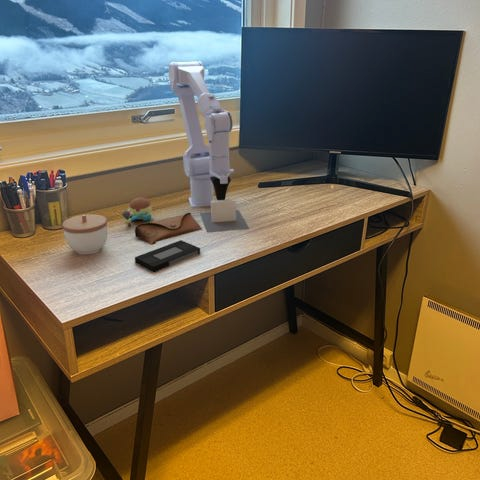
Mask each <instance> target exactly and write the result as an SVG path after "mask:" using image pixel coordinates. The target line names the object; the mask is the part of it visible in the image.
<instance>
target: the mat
mask: <svg viewBox="0 0 480 480" xmlns="http://www.w3.org/2000/svg"><path fill="white" fill-rule="evenodd" d="M199 215H200V216H201V220H202V222H203V225H204V229H205V231H206V233H216V232H227V231H228V232H229V231H239V230H241V231H242V230H250V227H249V226H248V224H247V222H246V220H245V219H244V217H243V215H242V213H241V212H240V210H239V209H236V221H223V222H212V221H211V211H209V212H199Z"/></svg>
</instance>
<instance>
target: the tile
mask: <svg viewBox="0 0 480 480" xmlns="http://www.w3.org/2000/svg"><path fill="white" fill-rule="evenodd" d="M236 206H237V204H236V199H235V198H232V199H225V200H217V199H216V200H214V201H211V206H210V212H211V221H212V222H223V221H236V210H237V209H236V208H237V207H236Z"/></svg>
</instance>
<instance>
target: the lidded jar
mask: <svg viewBox="0 0 480 480" xmlns="http://www.w3.org/2000/svg"><path fill="white" fill-rule="evenodd" d="M107 219H108V218H107V217H105V216H103V215H101V214H91V213H90V214H79V215H76V216H72V217H69V218H68V219H66V220H64V221H62V223H61V225H62V226H61V227H62V229H63V235H64V237H65V240H66V243H67V244H68V247H70V249H72V250H73V251H75V252H76V253H77V254H79V255H85V256H87V255H88V256H89V255H92V254H96V253H98V252H100V251H101V250H102V248H103V247H104V246H105V244H106V242H107V239H108V220H107Z"/></svg>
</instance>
